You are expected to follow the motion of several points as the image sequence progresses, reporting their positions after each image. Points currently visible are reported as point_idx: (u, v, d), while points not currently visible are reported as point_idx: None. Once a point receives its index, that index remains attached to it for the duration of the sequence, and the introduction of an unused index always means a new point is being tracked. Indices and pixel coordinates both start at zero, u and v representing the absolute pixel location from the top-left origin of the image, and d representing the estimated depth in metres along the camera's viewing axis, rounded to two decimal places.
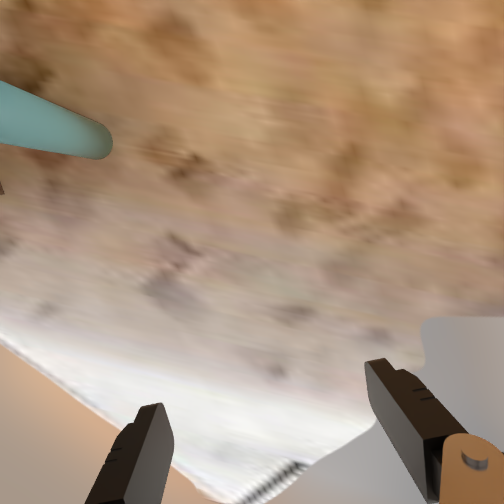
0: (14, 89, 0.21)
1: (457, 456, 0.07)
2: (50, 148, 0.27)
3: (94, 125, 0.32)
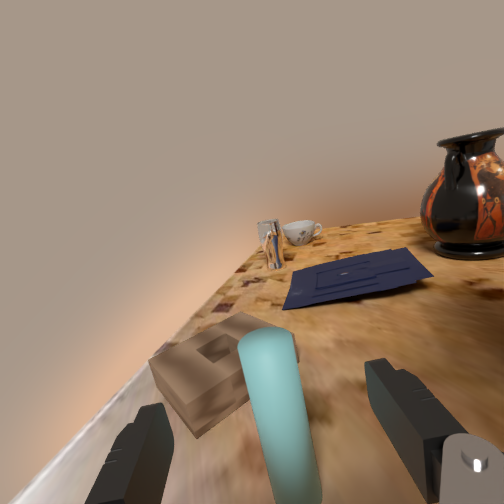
0: (293, 354, 0.22)
1: (457, 456, 0.07)
2: (260, 419, 0.23)
3: (314, 472, 0.25)
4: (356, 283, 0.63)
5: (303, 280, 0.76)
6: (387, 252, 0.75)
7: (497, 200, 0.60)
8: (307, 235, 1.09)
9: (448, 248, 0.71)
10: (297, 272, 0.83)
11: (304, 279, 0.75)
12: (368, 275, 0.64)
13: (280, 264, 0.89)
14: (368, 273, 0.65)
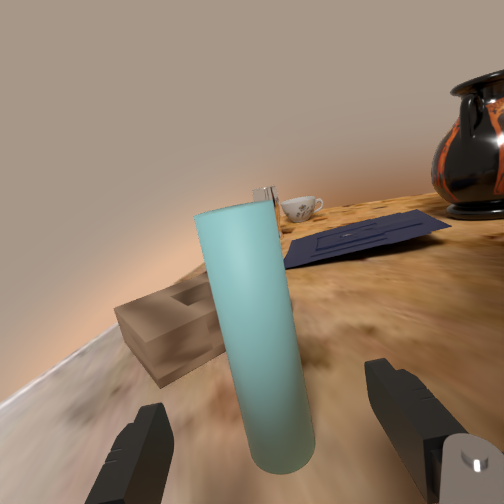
0: (274, 223, 0.15)
1: (457, 456, 0.07)
2: (225, 320, 0.16)
3: (303, 406, 0.18)
4: (361, 241, 0.55)
5: (302, 245, 0.68)
6: (396, 215, 0.67)
7: None
8: (307, 210, 1.02)
9: (463, 208, 0.64)
10: (296, 240, 0.76)
11: (303, 245, 0.68)
12: (375, 233, 0.57)
13: None
14: (375, 232, 0.58)
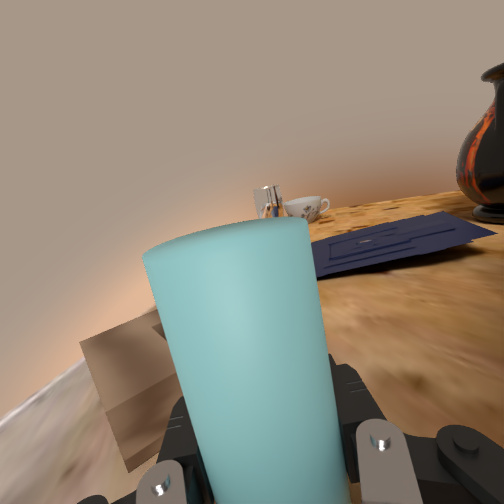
0: (312, 268, 0.07)
1: (365, 438, 0.08)
2: (211, 466, 0.08)
3: None
4: (384, 250, 0.47)
5: (312, 252, 0.60)
6: (419, 218, 0.59)
7: None
8: (313, 211, 0.94)
9: (495, 211, 0.56)
10: None
11: (313, 252, 0.60)
12: (399, 240, 0.49)
13: None
14: (399, 238, 0.50)
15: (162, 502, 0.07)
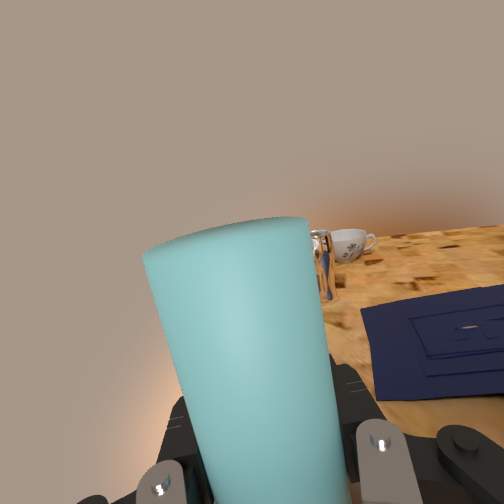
0: (313, 268, 0.07)
1: (365, 438, 0.08)
2: (212, 467, 0.08)
3: None
4: None
5: (387, 329, 0.47)
6: None
7: None
8: (357, 250, 0.81)
9: None
10: (369, 311, 0.55)
11: (390, 329, 0.47)
12: None
13: (332, 296, 0.61)
14: None
15: (162, 502, 0.07)
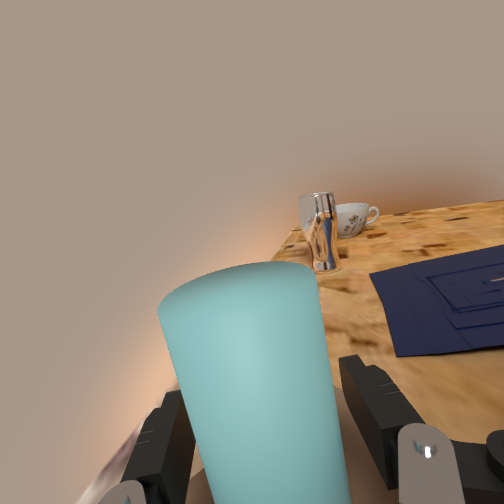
0: (321, 322, 0.08)
1: (409, 443, 0.07)
2: None
3: None
4: None
5: (402, 289, 0.42)
6: None
7: None
8: (360, 222, 0.76)
9: None
10: (379, 275, 0.49)
11: (405, 289, 0.42)
12: None
13: (334, 263, 0.56)
14: None
15: None
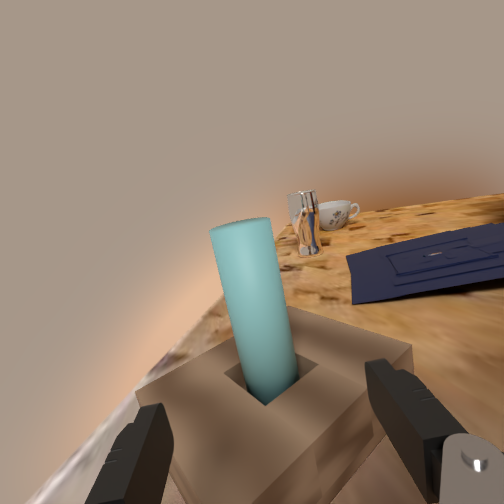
0: (271, 236, 0.20)
1: (457, 456, 0.07)
2: (234, 311, 0.21)
3: (295, 379, 0.22)
4: (467, 266, 0.41)
5: (367, 264, 0.54)
6: (489, 227, 0.53)
7: None
8: (343, 217, 0.88)
9: None
10: (353, 256, 0.61)
11: (369, 264, 0.54)
12: (481, 254, 0.43)
13: (317, 248, 0.68)
14: (479, 252, 0.44)
15: None
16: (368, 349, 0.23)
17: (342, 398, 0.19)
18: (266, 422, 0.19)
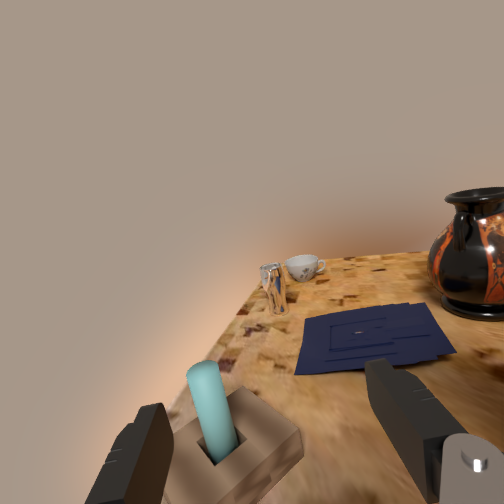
0: (218, 378, 0.39)
1: (457, 456, 0.07)
2: (199, 416, 0.40)
3: (234, 448, 0.41)
4: (372, 349, 0.60)
5: (316, 333, 0.73)
6: (405, 307, 0.71)
7: None
8: (310, 272, 1.07)
9: (456, 305, 0.69)
10: (309, 320, 0.80)
11: (317, 333, 0.73)
12: (385, 339, 0.62)
13: (283, 309, 0.87)
14: (385, 336, 0.63)
15: None
16: (276, 430, 0.42)
17: (252, 464, 0.38)
18: (213, 476, 0.37)
